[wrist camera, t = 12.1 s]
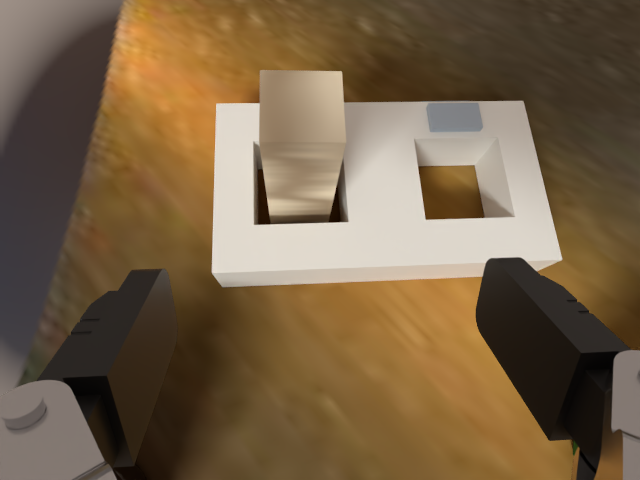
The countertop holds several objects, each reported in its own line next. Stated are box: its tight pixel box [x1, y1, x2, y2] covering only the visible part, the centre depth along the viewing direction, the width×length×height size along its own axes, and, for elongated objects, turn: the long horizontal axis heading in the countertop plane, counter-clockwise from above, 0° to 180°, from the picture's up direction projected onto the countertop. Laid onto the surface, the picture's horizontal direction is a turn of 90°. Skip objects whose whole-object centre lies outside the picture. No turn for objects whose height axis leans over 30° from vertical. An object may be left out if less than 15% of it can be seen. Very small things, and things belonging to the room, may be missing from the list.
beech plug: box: [259, 70, 346, 224], centre depth 26 cm, size 4×4×12 cm
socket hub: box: [212, 101, 562, 287], centre depth 30 cm, size 22×12×4 cm, turn 93°
